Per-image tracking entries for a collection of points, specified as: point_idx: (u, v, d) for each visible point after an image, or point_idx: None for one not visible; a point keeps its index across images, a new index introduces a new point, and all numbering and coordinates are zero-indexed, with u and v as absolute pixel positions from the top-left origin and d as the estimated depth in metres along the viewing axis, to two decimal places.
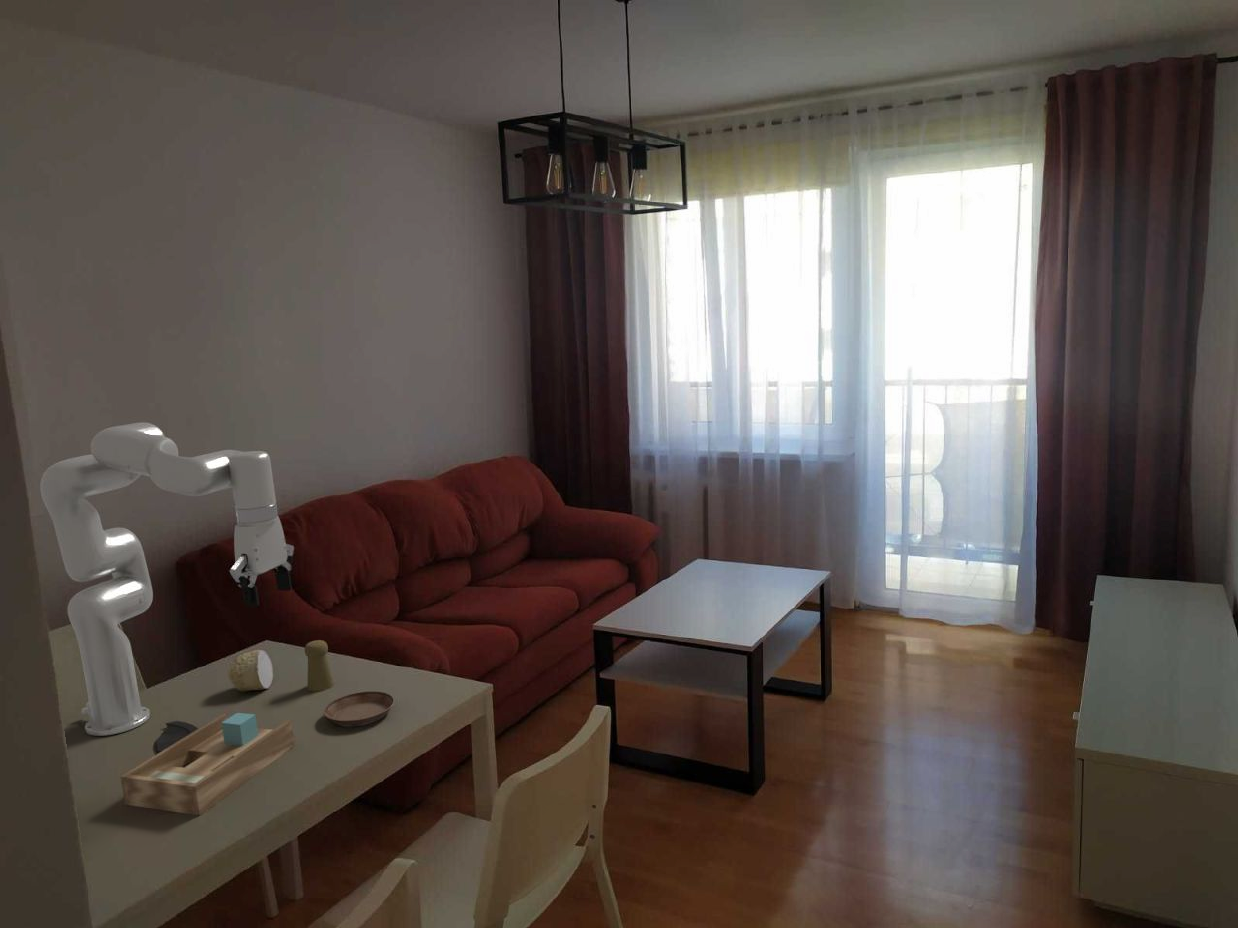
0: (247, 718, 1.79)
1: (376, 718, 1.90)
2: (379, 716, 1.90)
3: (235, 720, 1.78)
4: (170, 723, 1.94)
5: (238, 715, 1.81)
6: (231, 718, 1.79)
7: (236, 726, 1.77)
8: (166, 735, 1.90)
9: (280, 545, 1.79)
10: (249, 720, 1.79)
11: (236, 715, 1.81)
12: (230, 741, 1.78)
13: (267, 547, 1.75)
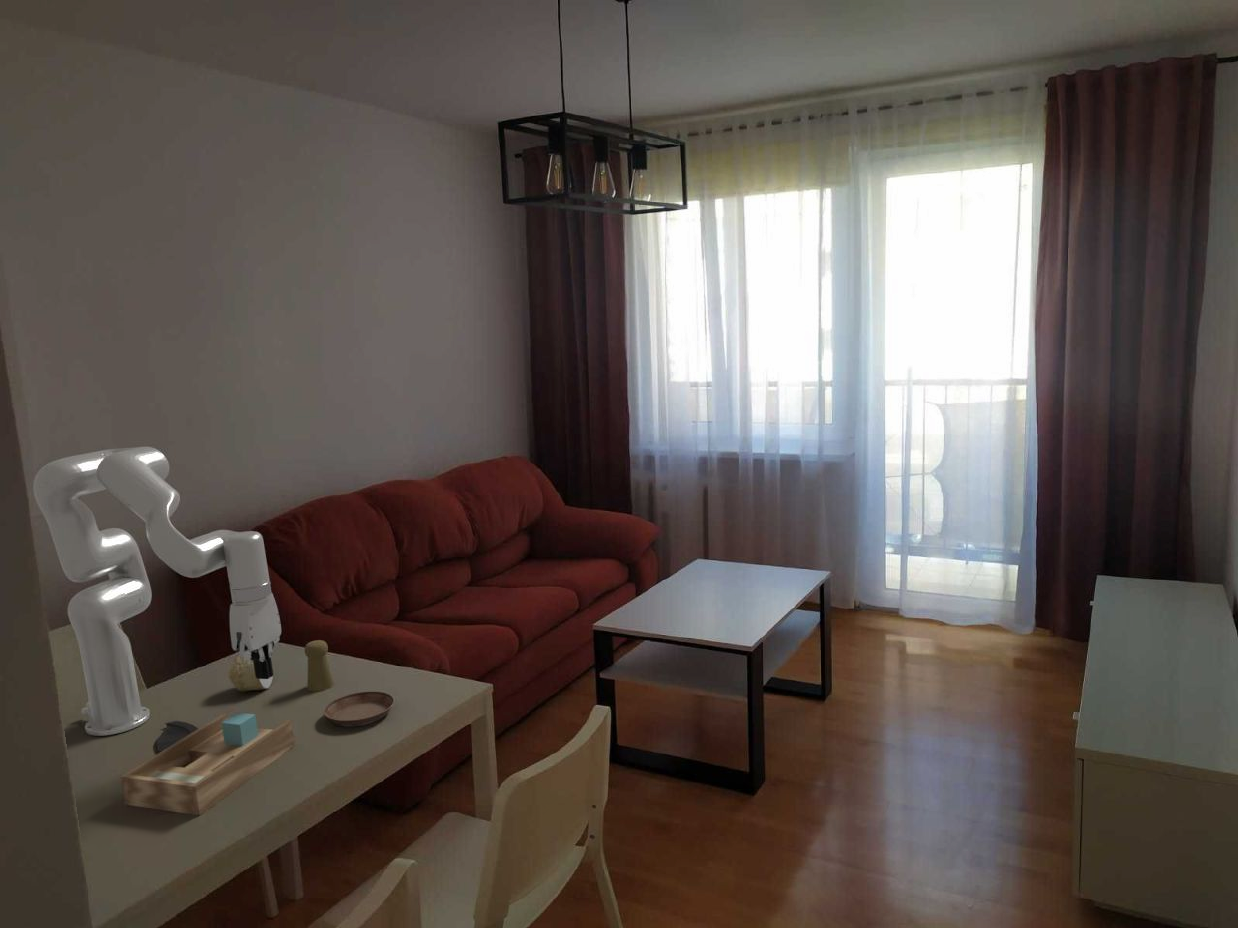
0: (247, 718, 1.79)
1: (376, 718, 1.90)
2: (379, 716, 1.90)
3: (235, 720, 1.78)
4: (170, 723, 1.94)
5: (238, 715, 1.81)
6: (231, 718, 1.79)
7: (236, 726, 1.77)
8: (166, 735, 1.90)
9: (274, 620, 1.85)
10: (249, 720, 1.79)
11: (236, 715, 1.81)
12: (230, 741, 1.78)
13: (261, 624, 1.82)
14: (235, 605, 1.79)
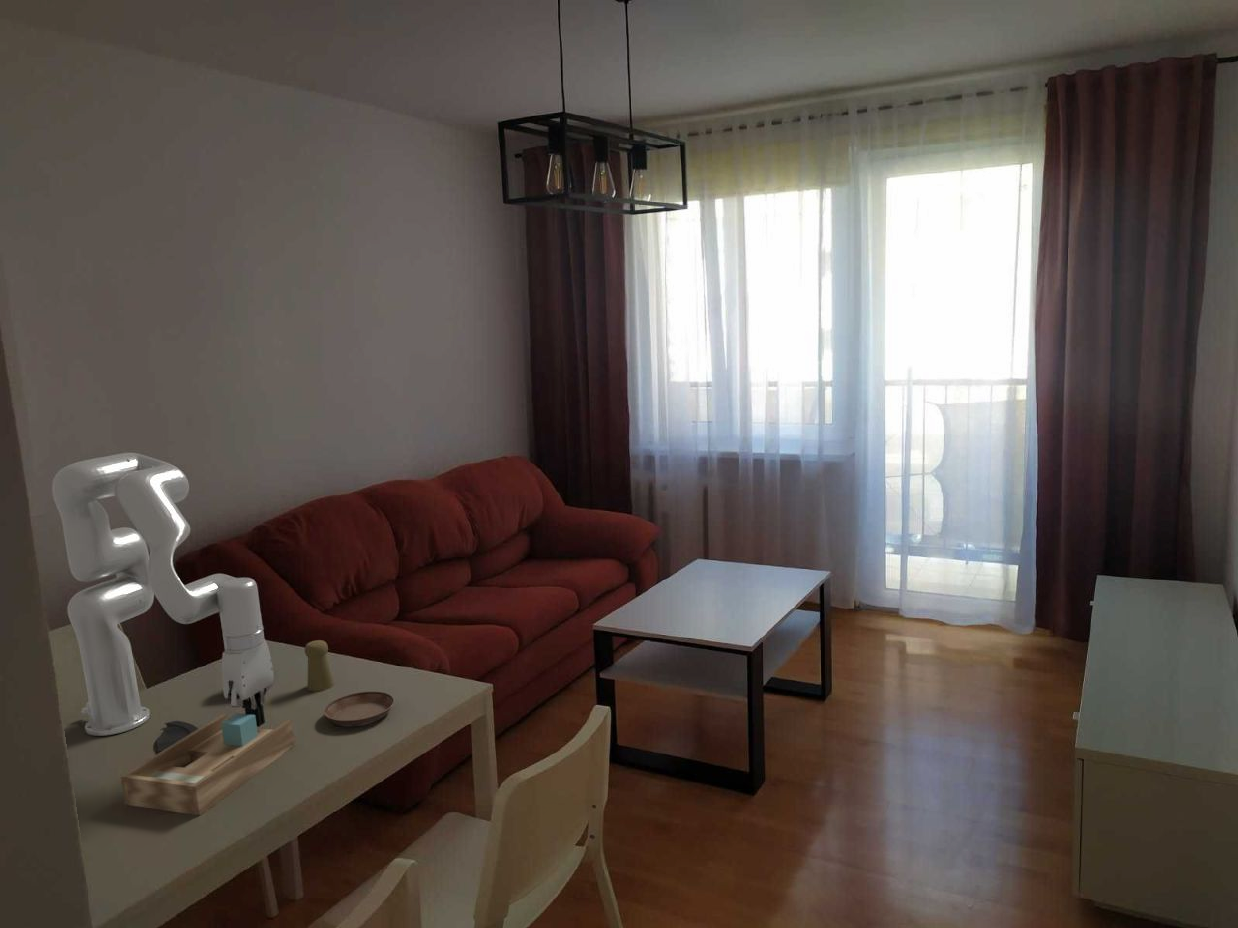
0: (247, 718, 1.79)
1: (376, 718, 1.90)
2: (379, 716, 1.90)
3: (235, 721, 1.78)
4: (170, 723, 1.95)
5: (237, 715, 1.81)
6: (231, 718, 1.79)
7: (235, 726, 1.77)
8: (166, 734, 1.90)
9: (267, 667, 1.84)
10: (248, 721, 1.79)
11: (235, 715, 1.81)
12: (229, 742, 1.78)
13: (254, 672, 1.80)
14: (228, 653, 1.77)
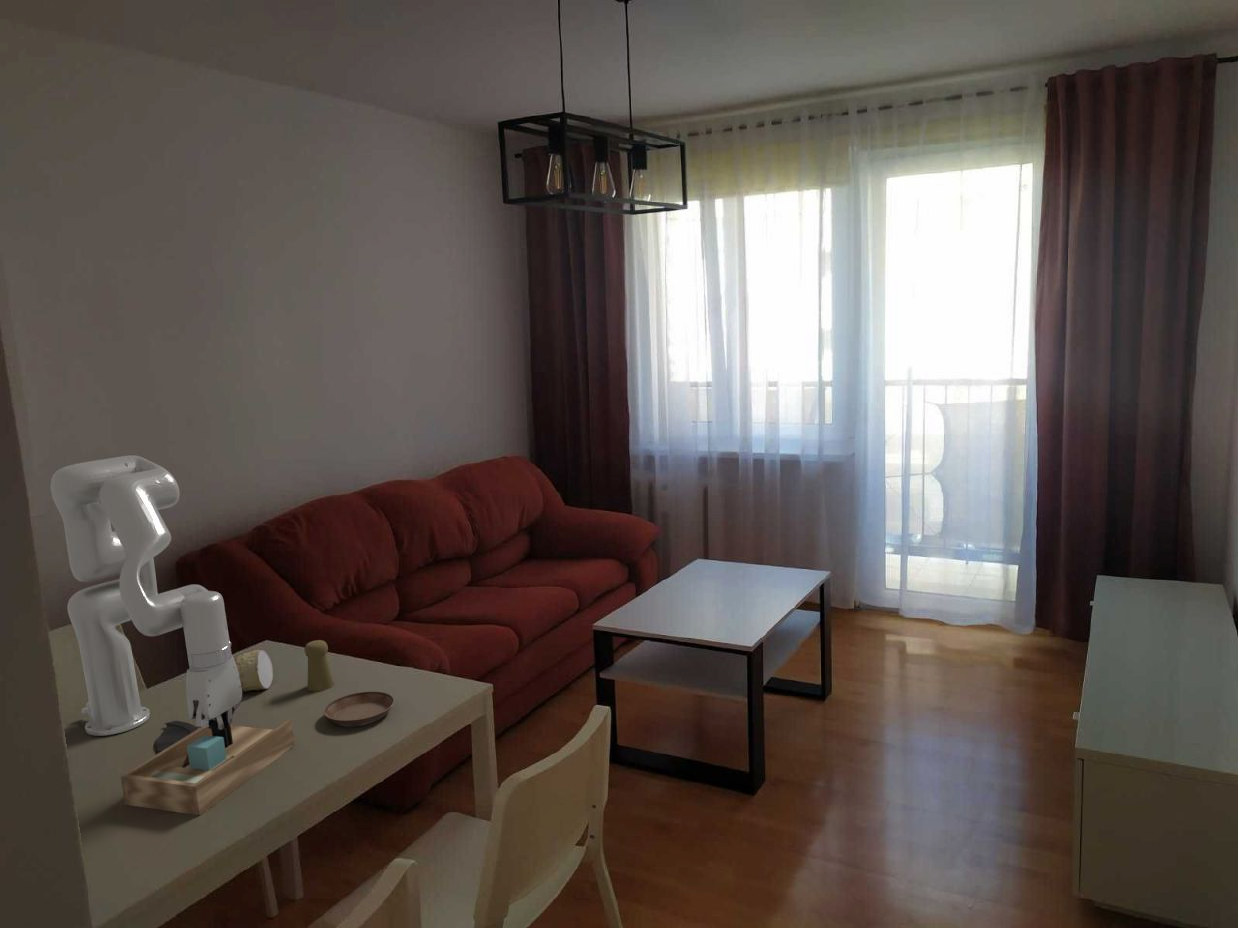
0: (214, 741, 1.70)
1: (376, 718, 1.90)
2: (379, 716, 1.90)
3: (201, 744, 1.69)
4: (170, 723, 1.95)
5: (204, 737, 1.72)
6: (197, 741, 1.70)
7: (202, 750, 1.68)
8: (166, 734, 1.90)
9: (234, 685, 1.75)
10: (216, 744, 1.70)
11: (203, 738, 1.72)
12: (196, 766, 1.69)
13: (220, 690, 1.71)
14: (192, 671, 1.68)
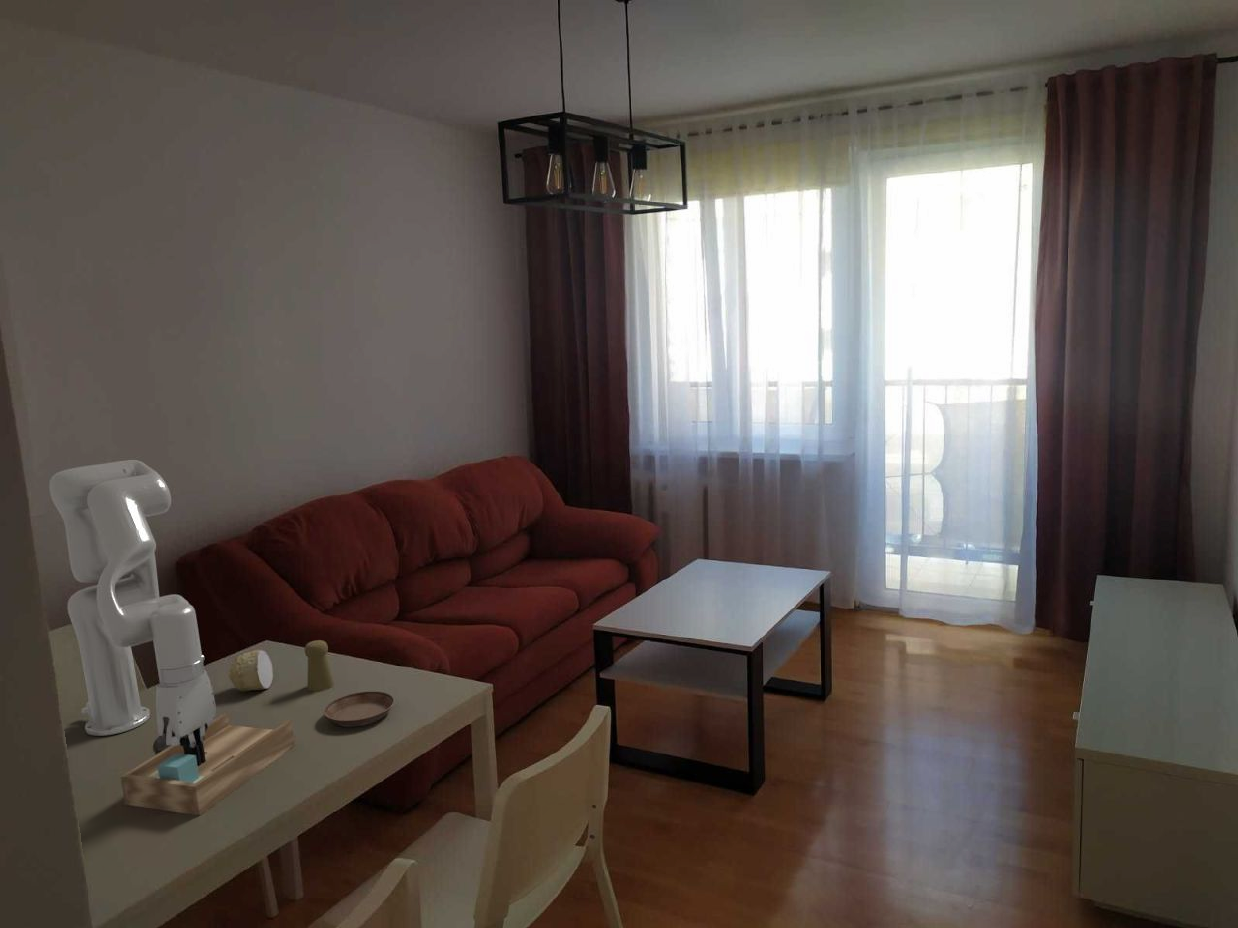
0: (186, 759, 1.63)
1: (376, 718, 1.90)
2: (379, 716, 1.90)
3: (172, 762, 1.62)
4: None
5: (176, 755, 1.65)
6: (168, 759, 1.64)
7: (173, 769, 1.61)
8: None
9: (207, 701, 1.68)
10: (188, 762, 1.63)
11: (174, 756, 1.65)
12: None
13: (192, 707, 1.64)
14: (162, 687, 1.62)
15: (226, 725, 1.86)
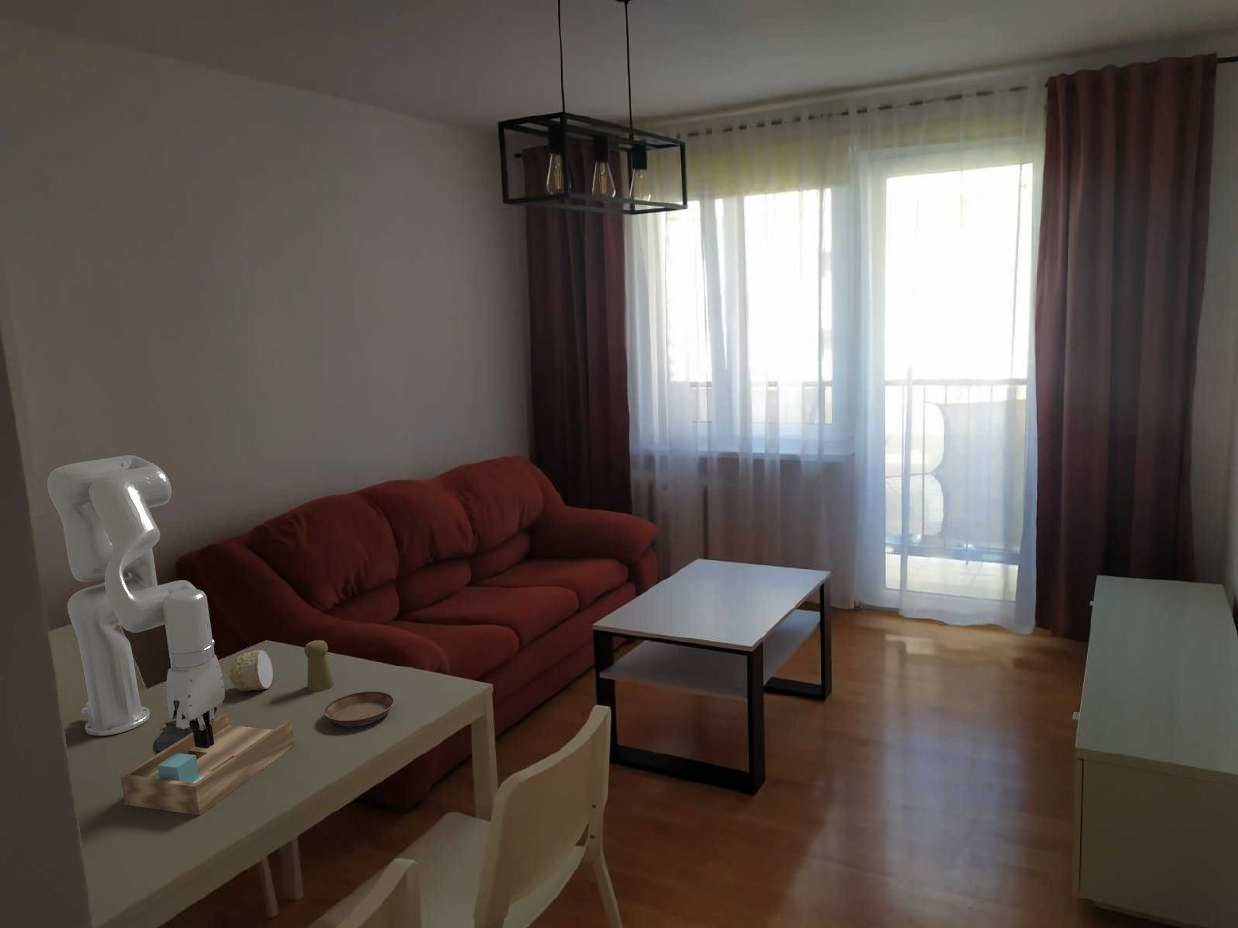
0: (186, 759, 1.63)
1: (376, 718, 1.90)
2: (379, 716, 1.90)
3: (172, 762, 1.62)
4: (169, 722, 1.95)
5: (176, 755, 1.65)
6: (168, 759, 1.64)
7: (173, 769, 1.61)
8: (166, 734, 1.91)
9: (217, 685, 1.71)
10: (188, 762, 1.63)
11: (174, 756, 1.65)
12: None
13: (202, 691, 1.67)
14: (173, 670, 1.65)
15: (226, 725, 1.86)
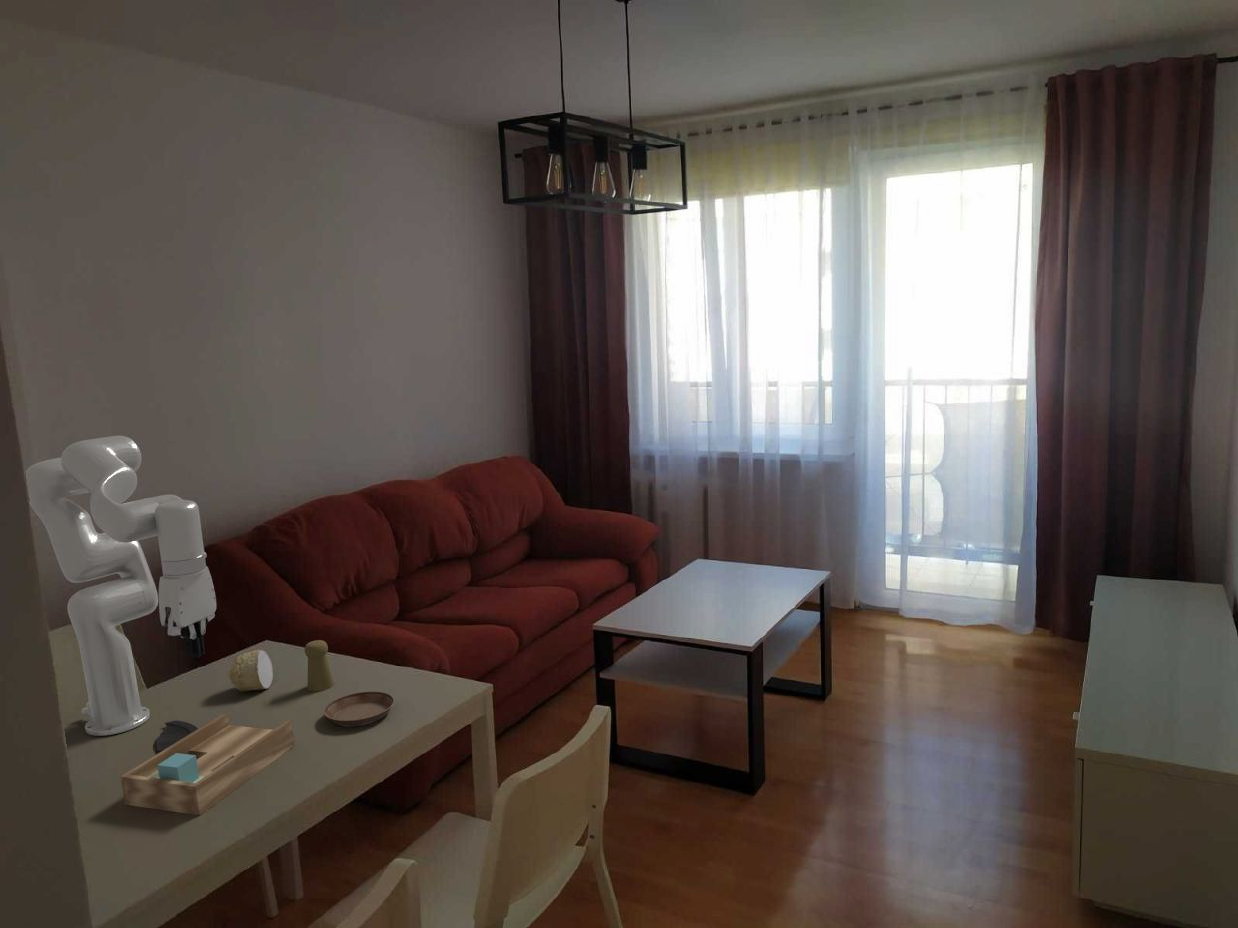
0: (186, 759, 1.63)
1: (376, 718, 1.90)
2: (379, 716, 1.90)
3: (172, 762, 1.62)
4: (169, 722, 1.95)
5: (176, 755, 1.65)
6: (168, 759, 1.64)
7: (173, 769, 1.61)
8: (165, 734, 1.91)
9: (208, 596, 1.74)
10: (188, 762, 1.63)
11: (174, 756, 1.65)
12: None
13: (193, 599, 1.71)
14: (165, 578, 1.68)
15: (226, 725, 1.86)
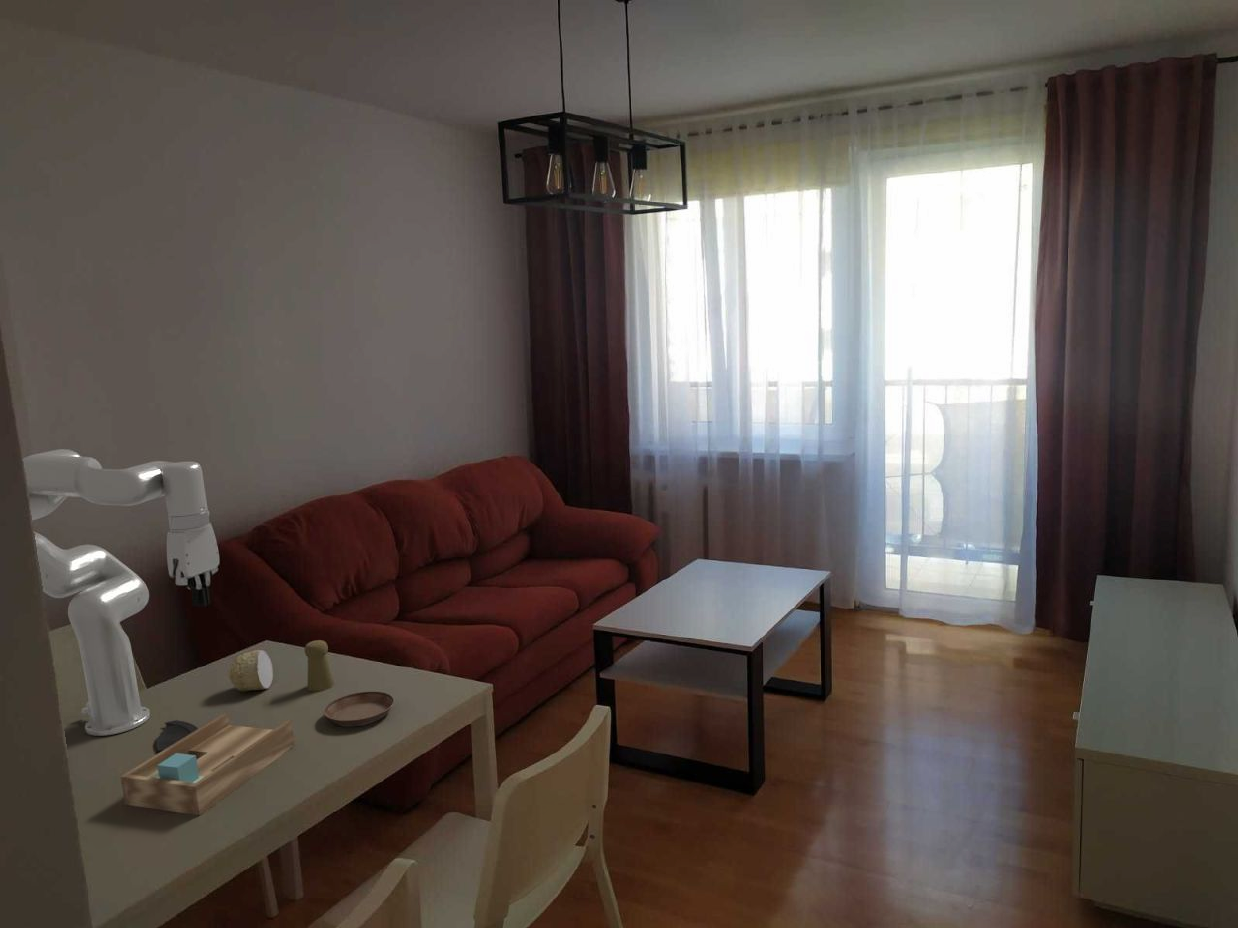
0: (186, 759, 1.63)
1: (376, 718, 1.90)
2: (379, 716, 1.90)
3: (172, 762, 1.62)
4: (169, 722, 1.95)
5: (176, 755, 1.65)
6: (168, 759, 1.64)
7: (173, 769, 1.61)
8: (165, 734, 1.91)
9: (212, 550, 1.90)
10: (188, 762, 1.63)
11: (174, 756, 1.65)
12: None
13: (198, 552, 1.86)
14: (172, 532, 1.83)
15: (226, 725, 1.86)
